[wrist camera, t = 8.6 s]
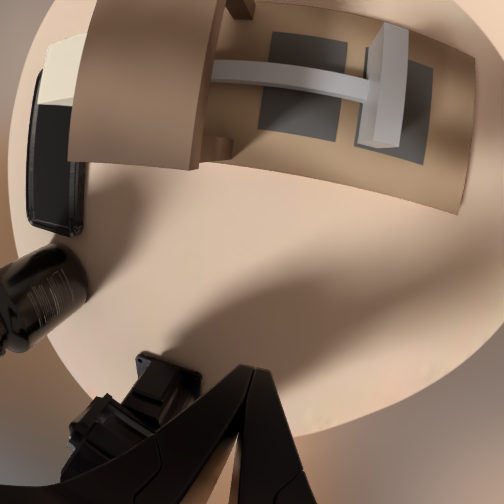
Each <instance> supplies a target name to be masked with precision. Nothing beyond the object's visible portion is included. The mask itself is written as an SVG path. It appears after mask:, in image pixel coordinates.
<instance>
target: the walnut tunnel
mask: <svg viewBox="0 0 504 504" xmlns="http://www.w3.org/2000/svg"><path fill="white" fill-rule="evenodd" d="M225 7H226V8H227V10H228V11H229V13H230V14H231V16H232V18H233V19H234V20H253V18H254V12H255V7H256V5H255V3H254V0H97V3H96V6H95V9H94V12H93V15H92V18H91V22H90V25H89V29H88V32H87V36H86V40H85V43H84V47H83V52H82V56H81V60H80V65H79V70H78V75H77V80H76V86H75V92H74V99H73V106H72V113H71V122H70V132H69V144H68V160H67V161H73V162H95V163H112V164H127V165H139V166H151V167H161V168H171V169H180V170H195V169H198V168H199V163H202V162H212V161H222V160H231V157H232V149H233V142H234V140H232V139H227V138H221V137H215V136H209V135H203V128H204V121H205V114H206V107H207V101H208V94H209V88H210V82H211V76H212V70H213V64H214V59H215V53H216V48H217V43H218V38H219V33H220V28H221V23H222V18H223V13H224V9H225Z"/></svg>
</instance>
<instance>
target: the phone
mask: <svg viewBox="0 0 504 504" xmlns="http://www.w3.org/2000/svg"><path fill="white" fill-rule="evenodd" d="M42 73H43V69H42V70H41V71H40V73H39V75H38V77H37V80H36V85H35V90H34V96H33V102H32V108H31V116H30V124H29V133H28V144H27V160H26V213H27V218H28V221H29V223H30V224H31V225H32V226H35V227H38V228H41V229H44V230H47V231H50V232H54V233H57V234H60V235H63V236H66V237H74V236H76V235H78V234H80V233H81V232H82V229H83V200H84V175H85V162H73V161H67V160H68V144H69V132H70V122H71V113H72V106H63V105H46V104H37V102H38V95H39V89H40V83H41V78H42Z"/></svg>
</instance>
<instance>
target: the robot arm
mask: <svg viewBox="0 0 504 504" xmlns="http://www.w3.org/2000/svg"><path fill="white" fill-rule="evenodd" d="M135 360H136V367H137V374H138V380H137V381H136V383H135V384H134V385H133V387H132V389H131V390H130V391H129V393H128V394H127V396H126V397H125V398H124V400H123V401H122V403H121V404H120V403H118V402H117V401H116V400H114V399H113V398H112V396H111V395H109V394H108V393H107V394H106V395H105V396H104V397H102V398H101V397H97V396H96V397H95V399H94V400H93V401H92V402H91V403H90V405H89V406H88V407H87V408H86V409H85V410H84V411H83V412H82V413H81V414H80V415H79V416H78V417H77V418H76V419H75V420H73V421H72V422H71V424H70V425H69V430H70V437H69V442H68V444H67V448H68V449H69V450H71V451H72V452H73V454H72V455H71V457H70V458H69V460H68V461H67V463H66V464H65V466H64V467H63V469H62V471H61V478H60V483H58V484H54V485H48V486H36V487H35V486H13V485H0V504H206V503H207V501H208V499H209V497H210V495H211V493H212V491H213V489H214V487H215V485H216V483H217V480H218V478H219V476H220V474H221V472H222V470H223V468H224V466H225V464H226V462H227V459H228V457H229V455H230V453H231V451H232V448H233V446H234V444H235V441H236V439H237V444H236V451H235V458H234V467H233V473H232V481H231V489H230V496H229V503H228V504H317V502H316V500H315V497H314V495H313V493H312V490H311V488H310V485H309V483H308V480H307V477H306V474H305V472H304V471H303V466H302V463H301V460H300V457H299V454H298V452H297V449H296V446H295V443H294V440H293V437H292V434H291V431H290V428H289V425H288V422H287V419H286V416H285V413H284V410H283V407H282V404H281V401H280V398H279V395H278V392H277V389H276V386H275V383H274V380H273V377H272V374H271V372H270V371H269V370H267V369H262V368H255V369H254V367H252V366H248V365H244V364H239V365H238V366H236V367H235V368H234V369H233V370H232V371H231V372H229V373H228V374H227V375H226V376H225V377H224V378H222V379H221V380H220V381H219V382H218V383H216V384H215V385H214V386H213V387H212V388H210V389H209V390H208V391H207V392H206V393H204V394H203V395H202V379H203V378H202V375H201V374H200V373H198V372H194V371H191V370H187V369H184V368H181V367H178V366H175V365H171V364H168V363H165V362H162V361H159V360H156V359H153V358H150V357H148V356H145V355H142V354H138V355H137V357H136V359H135ZM237 436H238V438H237Z"/></svg>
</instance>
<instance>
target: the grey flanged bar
mask: <svg viewBox="0 0 504 504" xmlns="http://www.w3.org/2000/svg"><path fill="white" fill-rule="evenodd" d="M408 41H409V30H408V29H405V28H402V27H399V26H396V25H393V24H389V23H386V22H384V23H383V25H382V27H381V28H380V30H379V32H378V34H377V35H376V37H375V39H374V40H373V42H372V44H371V46H370V47H369V51H368V63H367V73H366V79H363V78H358V77H354V76H350V75H345V74H341V73H336V72H331V71H326V70H320V69H314V68H308V67H302V66H294V65H287V64H278V63H269V62H257V61H242V60H214V64H213V70H212V76H211V82H218V83H237V84H250V85H260V86H270V87H278V88H286V89H293V90H300V91H306V92H312V93H318V94H323V95H328V96H333V97H338V98H343V99H347V100H352V101H356V102H360V103H363V108H362V115H361V122H360V129H359V136H358V142H357V143H358V144H362V145H366V146H370V147H374V148H392V147H399V142H400V135H401V128H402V120H403V112H404V103H405V93H406V81H407V66H408Z"/></svg>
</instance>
